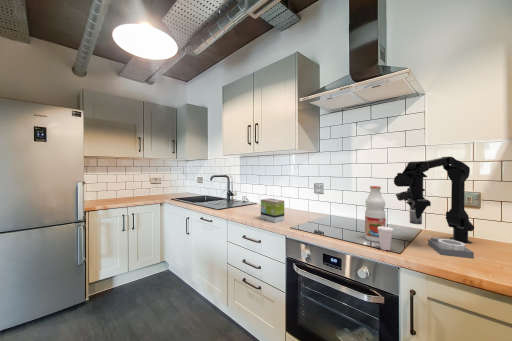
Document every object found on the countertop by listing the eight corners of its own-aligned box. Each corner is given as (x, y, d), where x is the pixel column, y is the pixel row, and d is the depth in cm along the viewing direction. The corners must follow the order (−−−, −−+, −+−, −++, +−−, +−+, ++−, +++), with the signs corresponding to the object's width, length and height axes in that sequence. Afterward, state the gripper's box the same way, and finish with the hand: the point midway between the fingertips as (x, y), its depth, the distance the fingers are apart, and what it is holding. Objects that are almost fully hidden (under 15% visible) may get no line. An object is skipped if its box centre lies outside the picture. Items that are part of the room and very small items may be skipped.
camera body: (427, 244, 107) (428, 235, 107) (455, 247, 104) (455, 237, 104) (441, 254, 94) (441, 244, 94) (473, 258, 91) (473, 247, 91)
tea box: (260, 219, 159) (260, 199, 159) (269, 217, 166) (269, 198, 166) (275, 223, 148) (275, 201, 148) (284, 221, 154) (284, 200, 154)
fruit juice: (377, 236, 119) (378, 185, 119) (389, 242, 110) (390, 187, 110) (361, 236, 119) (361, 185, 119) (371, 242, 109) (372, 186, 109)
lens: (408, 221, 112) (408, 205, 112) (419, 222, 111) (420, 206, 111) (411, 223, 108) (411, 207, 108) (423, 224, 106) (423, 208, 106)
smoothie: (394, 248, 101) (394, 218, 101) (391, 252, 96) (392, 221, 96) (379, 245, 105) (379, 216, 105) (375, 249, 100) (375, 218, 100)
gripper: (392, 184, 121) (392, 212, 121) (402, 187, 103) (402, 220, 103) (416, 185, 117) (416, 214, 117) (431, 188, 99) (431, 222, 99)
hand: (415, 217), depth 109 cm, fingers closed on lens, 5 cm apart
